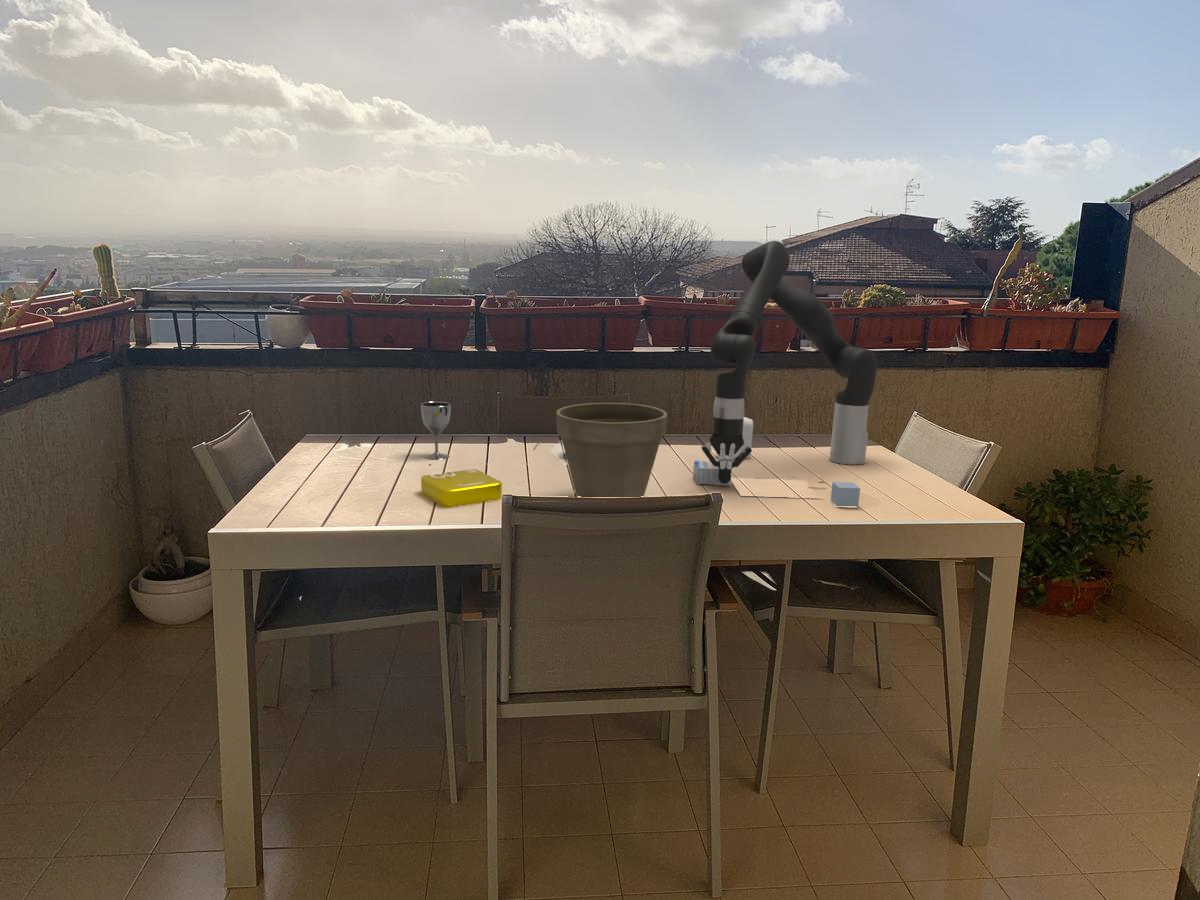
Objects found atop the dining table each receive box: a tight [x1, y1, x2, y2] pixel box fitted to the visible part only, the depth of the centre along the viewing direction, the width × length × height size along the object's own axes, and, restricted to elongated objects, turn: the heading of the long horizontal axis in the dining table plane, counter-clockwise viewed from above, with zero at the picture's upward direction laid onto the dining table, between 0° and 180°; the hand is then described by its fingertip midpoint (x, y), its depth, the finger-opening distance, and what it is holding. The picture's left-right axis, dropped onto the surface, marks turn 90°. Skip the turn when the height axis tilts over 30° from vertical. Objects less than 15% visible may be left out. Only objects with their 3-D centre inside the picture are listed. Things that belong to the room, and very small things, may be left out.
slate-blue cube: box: [830, 481, 861, 507], centre depth 183 cm, size 5×5×5 cm
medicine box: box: [692, 460, 733, 486], centre depth 200 cm, size 8×4×9 cm
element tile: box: [420, 468, 503, 508], centre depth 180 cm, size 15×15×5 cm
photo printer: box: [716, 416, 754, 460], centre depth 226 cm, size 10×4×12 cm, turn 98°
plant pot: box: [555, 402, 668, 497], centre depth 176 cm, size 25×25×22 cm
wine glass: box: [420, 401, 452, 461], centre depth 215 cm, size 8×8×15 cm
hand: (724, 482), depth 195 cm, fingers closed
